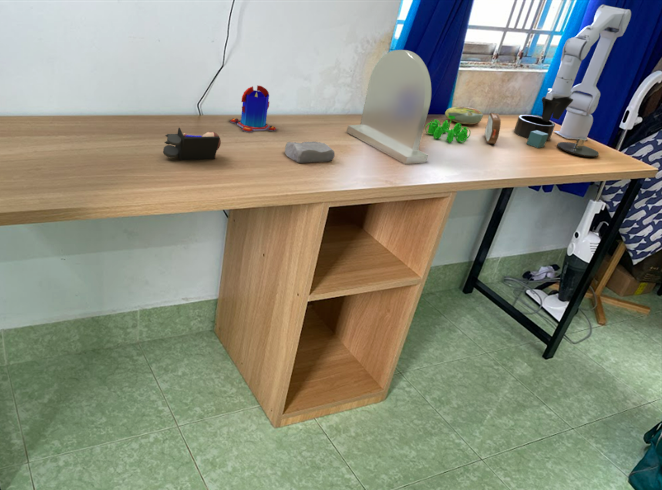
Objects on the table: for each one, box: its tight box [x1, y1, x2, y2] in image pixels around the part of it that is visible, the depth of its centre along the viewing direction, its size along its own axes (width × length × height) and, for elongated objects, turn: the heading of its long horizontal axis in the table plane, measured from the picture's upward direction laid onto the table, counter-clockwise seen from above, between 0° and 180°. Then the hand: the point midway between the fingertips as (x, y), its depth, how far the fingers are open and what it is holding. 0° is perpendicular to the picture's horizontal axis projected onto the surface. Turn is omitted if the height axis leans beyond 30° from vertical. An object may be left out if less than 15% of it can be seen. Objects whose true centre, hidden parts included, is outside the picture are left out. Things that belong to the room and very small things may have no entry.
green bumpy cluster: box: [424, 116, 471, 144], centre depth 203 cm, size 15×15×7 cm
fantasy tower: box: [229, 85, 278, 133], centre depth 184 cm, size 12×12×12 cm
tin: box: [484, 112, 502, 145], centre depth 207 cm, size 15×3×8 cm, turn 168°
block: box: [526, 130, 548, 149], centre depth 210 cm, size 4×4×4 cm
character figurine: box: [162, 127, 222, 161], centre depth 155 cm, size 8×7×15 cm
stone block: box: [284, 141, 335, 164], centre depth 168 cm, size 12×5×10 cm
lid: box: [556, 137, 600, 158], centre depth 210 cm, size 14×14×5 cm
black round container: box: [513, 114, 556, 142], centre depth 221 cm, size 13×13×5 cm
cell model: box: [444, 106, 484, 125], centre depth 223 cm, size 11×8×15 cm
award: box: [346, 49, 432, 165], centre depth 180 cm, size 28×9×28 cm, turn 32°
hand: (550, 119), depth 206 cm, fingers open, 7 cm apart
